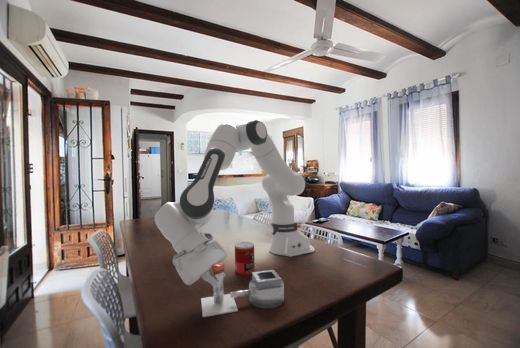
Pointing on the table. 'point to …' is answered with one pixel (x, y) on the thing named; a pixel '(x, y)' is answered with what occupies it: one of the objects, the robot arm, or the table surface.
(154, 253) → the table surface
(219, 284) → the red capped grey cylinder
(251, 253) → the canned food
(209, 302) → the rubber mat
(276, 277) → the square socket stand
